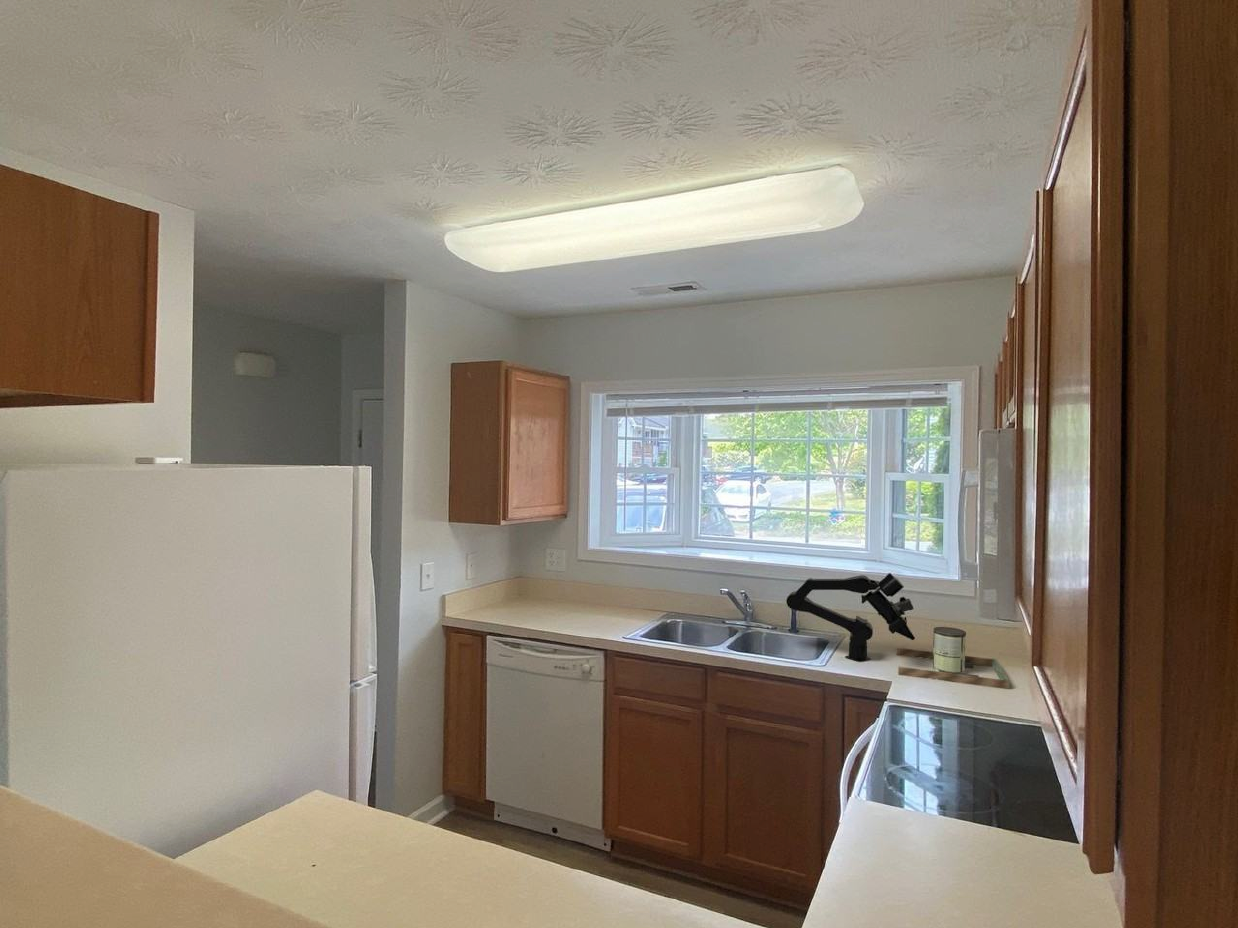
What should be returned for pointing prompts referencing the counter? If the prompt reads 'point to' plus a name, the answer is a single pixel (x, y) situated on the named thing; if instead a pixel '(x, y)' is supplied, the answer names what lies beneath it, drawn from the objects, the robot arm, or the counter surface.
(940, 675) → the brown wooden frame
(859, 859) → the counter surface
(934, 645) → the coffee can
